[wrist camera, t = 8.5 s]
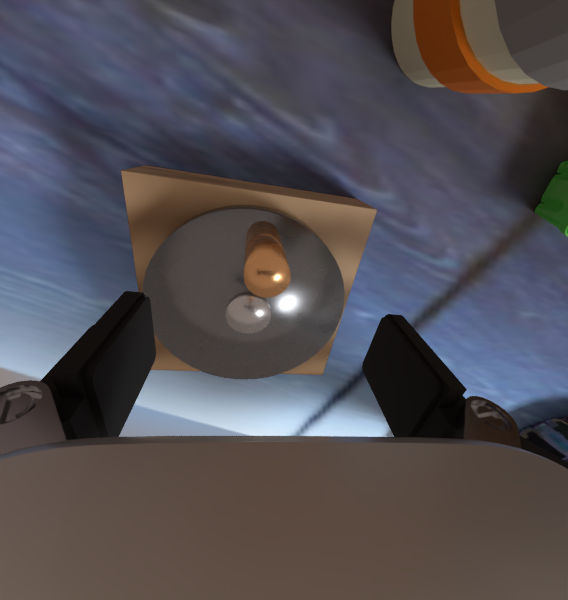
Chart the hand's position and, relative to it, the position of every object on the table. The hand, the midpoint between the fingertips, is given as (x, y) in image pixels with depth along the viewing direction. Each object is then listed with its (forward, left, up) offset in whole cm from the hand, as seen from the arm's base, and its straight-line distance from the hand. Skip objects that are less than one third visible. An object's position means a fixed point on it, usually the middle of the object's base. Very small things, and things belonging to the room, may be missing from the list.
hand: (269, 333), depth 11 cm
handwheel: (-7, 0, -13) cm, 15 cm away
